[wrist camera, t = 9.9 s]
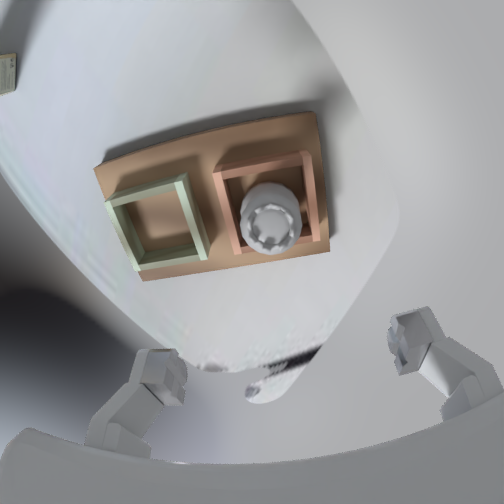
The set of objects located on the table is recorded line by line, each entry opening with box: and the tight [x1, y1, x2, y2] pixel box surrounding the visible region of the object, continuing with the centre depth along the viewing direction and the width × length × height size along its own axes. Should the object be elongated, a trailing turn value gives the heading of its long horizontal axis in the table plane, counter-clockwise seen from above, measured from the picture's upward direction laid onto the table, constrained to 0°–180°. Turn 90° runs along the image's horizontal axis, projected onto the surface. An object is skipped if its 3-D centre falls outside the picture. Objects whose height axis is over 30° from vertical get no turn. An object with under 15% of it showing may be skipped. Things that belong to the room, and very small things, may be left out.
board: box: [94, 111, 330, 281], centre depth 22 cm, size 12×18×4 cm, turn 101°
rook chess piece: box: [240, 181, 302, 255], centre depth 18 cm, size 4×4×8 cm
